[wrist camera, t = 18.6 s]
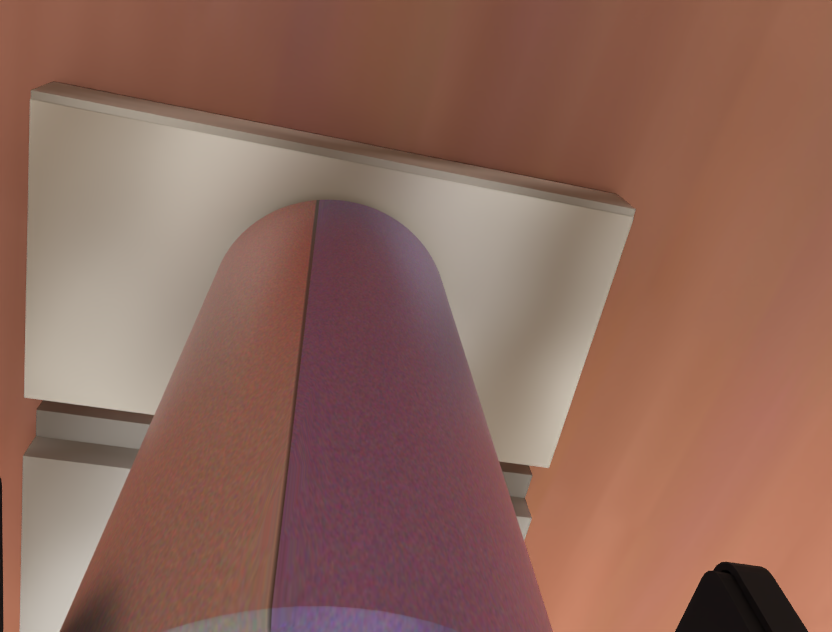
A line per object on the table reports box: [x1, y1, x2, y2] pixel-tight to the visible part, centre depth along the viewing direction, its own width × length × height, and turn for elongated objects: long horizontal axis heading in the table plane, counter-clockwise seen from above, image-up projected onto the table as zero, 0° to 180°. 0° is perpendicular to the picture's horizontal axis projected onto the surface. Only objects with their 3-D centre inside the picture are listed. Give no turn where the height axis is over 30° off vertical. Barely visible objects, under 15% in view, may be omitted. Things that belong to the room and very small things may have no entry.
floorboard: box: [20, 400, 532, 632], centre depth 25 cm, size 15×8×2 cm, turn 78°
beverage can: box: [60, 200, 553, 632], centre depth 14 cm, size 6×6×15 cm
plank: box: [24, 82, 636, 468], centre depth 21 cm, size 15×8×2 cm, turn 78°
